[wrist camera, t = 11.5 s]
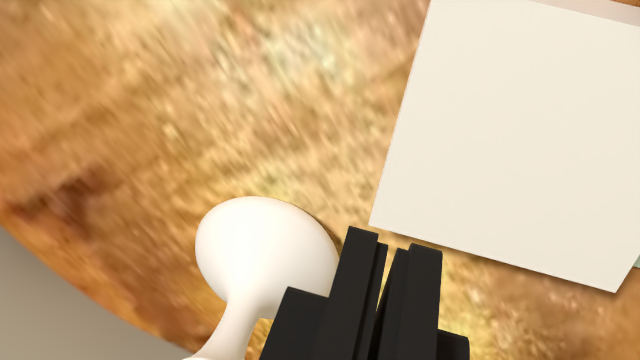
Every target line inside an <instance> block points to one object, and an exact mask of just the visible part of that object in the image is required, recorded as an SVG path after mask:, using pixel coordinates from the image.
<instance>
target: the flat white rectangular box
mask: <svg viewBox="0 0 640 360" xmlns="http://www.w3.org/2000/svg"><path fill="white" fill-rule="evenodd" d="M368 225H370V226H374V227H377V228H381V229H385V230H388V231H392V232H395V233H399V234H403V235H406V236H410V237H414V238H417V239H421V240H425V241H428V242H432V243H435V244H439V245H443V246H446V247H450V248H454V249H457V250H461V251H465V252H468V253H472V254H475V255H479V256H483V257H486V258H490V259H494V260H497V261H501V262H505V263H508V264H512V265H515V266H519V267H523V268H526V269H530V270H534V271H537V272H541V273H545V274H548V275H552V276H555V277H559V278H563V279H566V280H570V281H574V282H577V283H581V284H585V285H588V286H592V287H595V288H599V289H603V290H606V291H610V292H614V293H616V291H617V290H618V288H619V286H620V285H621V283H622V282H623V280H624V279H625V277H626V275H627V274H628V272H629V271H630V269H631V268H632V266H633V264H634V263H635V261H636V260H637V258H638V257H639V255H640V8H639V7H635V6H631V5H627V4H622V3H618V2H614V1H610V0H430V3H429V7H428V10H427V14H426V18H425V21H424V25H423V28H422V32H421V35H420V39H419V42H418V46H417V49H416V53H415V57H414V60H413V64H412V67H411V71H410V74H409V78H408V81H407V85H406V89H405V92H404V96H403V99H402V103H401V106H400V110H399V113H398V117H397V120H396V124H395V128H394V131H393V135H392V138H391V142H390V145H389V149H388V152H387V156H386V159H385V163H384V167H383V170H382V174H381V177H380V181H379V184H378V188H377V191H376V195H375V200H374V204H373V208H372V212H371V216H370V220H369V224H368Z"/></svg>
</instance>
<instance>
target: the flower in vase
mask: <svg viewBox="0 0 640 360" xmlns="http://www.w3.org/2000/svg"><path fill="white" fill-rule="evenodd" d="M195 253H196V260H197V263H198V266H199V269H200V271H201V273H202V275H203V276H204V278H205V280H206V281H207V283H208V284H209V285H210V287H211V288H212V289H213V291H214V292H215V293H216V294H217V295H218V296H219V297H220V298H221V299H222V300H224V301H225V302H226V303H227V307H226V310H225V312H224V315H223V317H222V319H221V321H220V323H219V325H218V326H217V328H216V330H215V331H214V333H213V334H212V336H211V337H210V339H209V340H208V341H207V343H206V344H205V345H204V346H203V347H202V349H200V350H199V351H198V352H197V353H196V354H194V355H193V356H191V357H188V358H185V359H183V360H244V358H245V353H246V349H247V345H248V342H249V339H250V336H251V334H252V331H253V329H254V327H255V325H256V322H257V321H258V320H259V318H265V319H275V316H276V314H277V311H278V308H279V306H280V303H281V301H282V298H283V295H284V293H285V291H286V288H287V287H288V286H290V287H294V288H297V289H301V290H304V291H308V292H311V293H315V294H318V295H321V296H325V297H329V294H330V290H331V287H332V283H333V280H334V276H335V273H336V270H337V266H338V263H339V256H338V253H337V249H336V247H335V245H334V243H333V241H332V240H331V238H330V237H329V235H328V234H327V232H326V231H325V230H324V229H323V227H322V226H321V225H320V224H319V223H318V222H317V221H316V220H315V219H314V218H313V217H312V216H310V215H309V214H307V213H306V212H305V211H303V210H301V209H300V208H298V207H296V206H294V205H292V204H290V203H288V202H285V201H282V200H279V199H274V198H270V197H262V196H248V197H239V198H234V199H230V200H227V201H225V202H223V203H220V204H219V205H217V206H215V207H214V208H213V209H211V210H210V211H209V212H208V213H207V214H206V215H205V216H204V218H203V219H202V221H201V223H200V224H199V227H198V230H197V234H196V245H195Z"/></svg>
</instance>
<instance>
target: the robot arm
mask: <svg viewBox="0 0 640 360" xmlns="http://www.w3.org/2000/svg"><path fill="white" fill-rule="evenodd" d="M378 235H379V234H378V233H374V232H370V231H367V230H363V229H359V228H356V227H352V226H349V228H348V232H347V235H346V239H345V242H344V245H343V249H342V252H341V256H340V259H339V263H338V266H337V270H336V273H335V276H334V280H333V283H332V287H331V290H330V294H329V297H325V296H321V295H318V294H315V293H311V292H308V291H304V290H301V289H297V288H294V287H290V286H288V287H287V288H286V291H285V293H284V295H283V298H282V301H281V303H280V306H279V308H278V311H277V314H276V316H275V319H274V322H273V324H272V327H271V329H270V332H269V335H268V337H267V340H266V342H265V345H264V348H263V350H262V353H261V356H260V358H259V360H470V348H469V340H468V337H465V336H461V335H458V334H454V333H451V332H447V331H444V330H440V329H438V317H439V302H440V287H441V272H442V257H443V253H442V251H439V250H436V249H432V248H428V247H425V246H421V245H417V244H414V243H411V245H410V247H409V250H405V249H401V248H397V250H396V253H395V256H394V259H393V262H392V265H391V268H390V271H389V274H388V277H387V281H386V284H385V287H384V290H383V293H382V296H381V299H380V302H379V305H378V308H377V304H378V298H379V293H380V288H381V283H382V277H383V272H384V267H385V262H386V256H387V251H388V245H386V244H383V243H379V242H377V240H378ZM376 309H377V311H376Z"/></svg>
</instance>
